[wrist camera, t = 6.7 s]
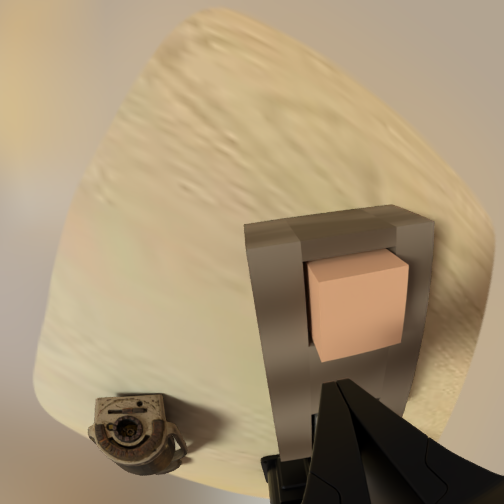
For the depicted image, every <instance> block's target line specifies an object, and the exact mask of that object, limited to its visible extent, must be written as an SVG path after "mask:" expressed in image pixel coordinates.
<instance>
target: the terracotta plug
mask: <svg viewBox="0 0 504 504" xmlns="http://www.w3.org/2000/svg"><path fill="white" fill-rule="evenodd" d="M302 263H303V275H304V287H305V300H306V314H307V325H308V328H309V331H310V333H311V336H312V338H313V341H314V344H315V346H316V349H317V352H318V354H319V357H320V360H321V362H326V361H330V360H335V359H340V358H344V357H348V356H353V355H357V354H361V353H365V352H369V351H373V350H376V349H380V348H384V347H387V346H391V345H395V344H398V343H401V338H402V331H403V323H404V315H405V306H406V296H407V285H408V270H409V265H408V264H407V263H405V262H404V261H403V260H401V259H400V258H398V257H397V256H396V255H394V254H393V253H391V252H390V251H389V250H387V249H386V248H383V249H377V250H371V251H365V252H359V253H353V254H347V255H341V256H335V257H329V258H323V259H317V260H310V261H304V262H302Z"/></svg>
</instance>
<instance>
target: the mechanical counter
mask: <svg viewBox="0 0 504 504" xmlns="http://www.w3.org/2000/svg"><path fill="white" fill-rule="evenodd" d="M88 435H89V438H90V439H91V440H92V441H93V442H94V443H95V444H96V445H97V446H98V448H99V449H100V451H101V452H102V453H103V454H104V455H105V456H106V457H108V458H109V459H111V460H112V461H113V462H115V463H116V464H117V465H118V466H120V467H121V468H122V469H124V470H125V471H127V472H130V473H133V474H136V475H142V476H143V475H153V474H156V475H159V474H166V473H169V472H172V471H174V470H176V469H177V468H179V467H180V465H181V462H182V461H181V460H180V459H181V458H183V457H184V456H185V455H186V454H187V446H186V443H185V441H184V440H183V438H182V435H181V433H180V432H179V430H178V428H177V426H176V424H174V423H171V422H167V421H166V417H165V410H164V403H163V396H162V395H161V394H156V395H144V396H129V397H105V398H97V399H96V405H95V419H94V424H93V425H92V426H90V427H89V429H88ZM172 435H173V436H174V438H175V440H176V441H177V443H178V444H179V446H180V447H181V448H180V449H179V450H177V451H175V442H174V438H173V436H172Z"/></svg>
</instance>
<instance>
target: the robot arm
mask: <svg viewBox="0 0 504 504" xmlns="http://www.w3.org/2000/svg"><path fill="white" fill-rule="evenodd" d="M261 465H262V469H263V472H264V475H265V479H266V482H267V483H268V485H269V495H270V504H504V476H502V475H499V474H496V473H493V472H491V471H489V470H487V469H485V468H482V467H480V466H478V465H476V464H474V463H472V462H470V461H468V460H466V459H464V458H462V457H460V456H458V455H456V454H455V453H453V452H451V451H449V450H448V449H446V448H445V447H443V446H442V445H440V444H439V443H437V442H436V441H434V440H433V439H431V438H428V436H427V435H426V434H424V433H423V432H421V431H420V430H419V429H417V428H416V427H414V426H413V425H412V424H410V423H409V422H407V421H406V420H405V419H403V418H402V417H401V416H399V415H398V414H396V413H395V412H394V411H392V410H391V409H390V408H388V407H387V406H386V405H384V404H383V403H382V402H380V401H379V400H378V399H376V398H375V397H374V396H372V395H371V394H370V393H368V392H367V391H366V390H364V389H363V388H362V387H360V386H359V385H358V384H357V383H355V382H354V381H353V380H351V379H350V378H344V379H339V380H336V381H329V382H324V383H322V385H321V392H320V401H319V409H318V417H317V424H316V431H315V438H314V445H313V451H312V456H311V457H306V458H301V459H295V460H289V461H282V462H281V459H280V455H279V456H271V457H264V458H261Z"/></svg>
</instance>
